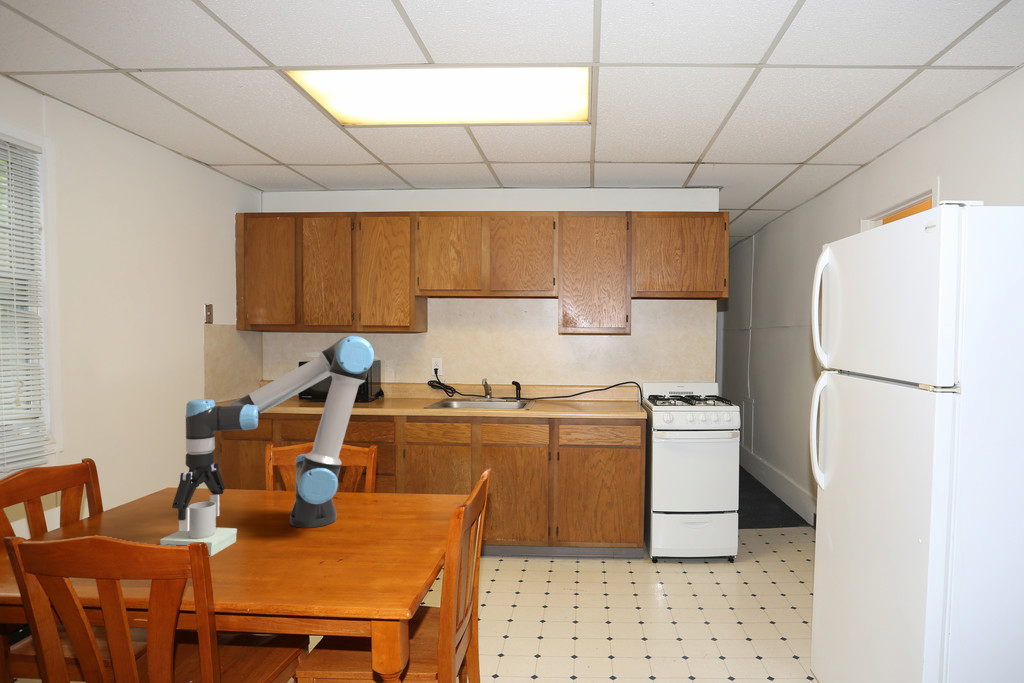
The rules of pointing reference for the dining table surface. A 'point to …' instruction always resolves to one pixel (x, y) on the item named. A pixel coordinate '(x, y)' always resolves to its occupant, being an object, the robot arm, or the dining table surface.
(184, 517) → the robot arm
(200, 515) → the cup
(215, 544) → the pale green flat block
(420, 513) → the dining table surface
